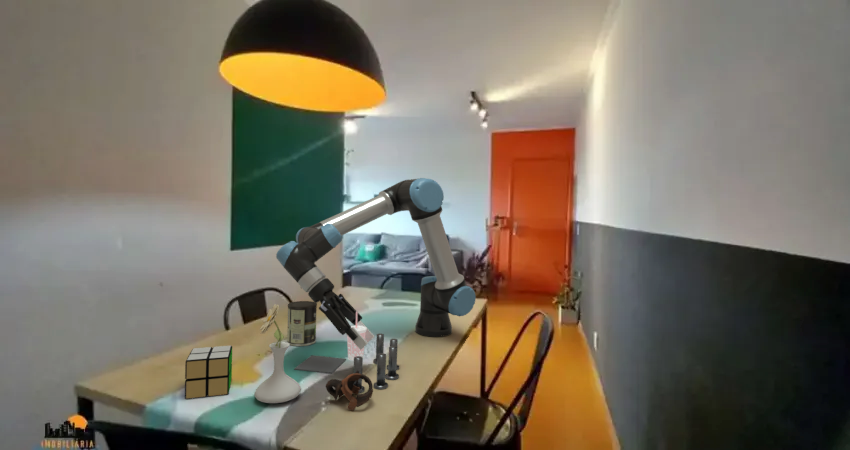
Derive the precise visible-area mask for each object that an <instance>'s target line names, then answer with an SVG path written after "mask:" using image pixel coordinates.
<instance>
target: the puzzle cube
mask: <svg viewBox="0 0 850 450" xmlns="http://www.w3.org/2000/svg"><path fill="white" fill-rule="evenodd" d="M184 369H185V372H184V374H185V375H184V379H185V381H184V399H185V400H191V399H192V398H193V399H199V398H206V397H208V398H211V397H218V396H220V397H221V396H227V395H229V394H230V390H231V385H232V380H233V379H232V377H233V346H232V345H220V346H219V345H217V346H213V347H212V346H206V347H205V346H204V347H195V348H194V347H193V348H192V349H191V351H190V352H189V355H188V356H187V357H186V360H185V368H184ZM193 399H192V400H193Z"/></svg>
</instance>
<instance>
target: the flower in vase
mask: <svg viewBox="0 0 850 450" xmlns="http://www.w3.org/2000/svg"><path fill="white" fill-rule="evenodd" d="M279 310H280V305H279V304H273V306H272V308H270V309H268V313H267V315H266V316H267V317H265V318H263V320H262V322H263V324H262V326H261V327H260V328H259V331H260V334H266V332H268V330H269V329H270V328H271V326H272V324H275V326H276V330H275V331H274V333H273V337H274V338H275V339H276V340H277V342H272V343H270V344H268V347H269V349H270V350H271V351H272V355H273V361H274V362H273V363H274V365H273V372H272V374H271V375H270V376H269V377H268V378H266V379H265V380H264V381H262V382H261V383H260V384H259V385H258V386H257V387H256V388H255V391H254V393H253V395H254V397H255V398H256V400H257V401H259V402H261V403H266V404H281V403H285V402H288V401H291V400H293V399H295V398H297V397H298V396H299V395H300V393H301V391H302V388H301V385H300V383H299V382H297V380H295V379H294V378H293V377H290V376H289V375H287V373H286V372H285V369H284V362H285V361H284V360H285V355H286V351H287V349H288V348H289V346H291V345H290V344H289V343H287V341H286V342H285V341H283V339H284V338H285V335H284V334H283V332H281V330H280V327H279V325H278V324H277V321H276V318H277V315H278V313H279Z"/></svg>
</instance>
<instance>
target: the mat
mask: <svg viewBox="0 0 850 450" xmlns="http://www.w3.org/2000/svg"><path fill="white" fill-rule="evenodd" d="M345 361H347V358H345V357H344V358H343V357H333V356H323V355H315V354H314V355H313V354H312V355H310V356H309V357H307V358H306V359H305V360H304V361H302V362H301V363H299V364H298V365H296V366H295V367H294V371H300V372H301V371H302V372H313V373H321V374H322V373H323V374H331V375H333V373H335V371H336V370H338V369H339V367H340V366H342V365H343V364H344V363H345Z"/></svg>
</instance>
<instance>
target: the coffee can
mask: <svg viewBox="0 0 850 450" xmlns="http://www.w3.org/2000/svg"><path fill="white" fill-rule="evenodd" d="M317 307H318V302H317V303H315V302H314V301H312V300H311V301H309V300H301V301H293V302H289V303H287V335H286V336H287V339H286V342H287V343H289V344H290V345H289V346H292V347H307V346H310V345H311V346H312V345H313V344H315V343H316V341H317V339H316V337H317Z"/></svg>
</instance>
